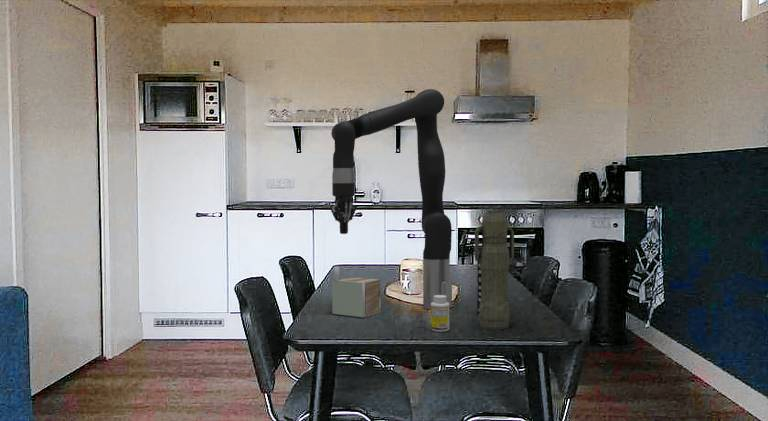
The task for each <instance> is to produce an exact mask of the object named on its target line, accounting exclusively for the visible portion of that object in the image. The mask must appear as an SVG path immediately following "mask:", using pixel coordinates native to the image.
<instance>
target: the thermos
mask: <svg viewBox="0 0 768 421" xmlns="http://www.w3.org/2000/svg"><path fill="white" fill-rule="evenodd" d="M483 213H484V214H483V216H482V219H481V225H480V226H477V227H476V229H475V230H474V260H475V261H476V262H477V261H479V262H480V269H481V301H480V317H479V321H480V322H479V327H481V328H483V329H488V330H504V329H508V328H509V327H510V326H509V320H510V303H509V300H508V294H509V293H508V292H509V291H508V285H509V284H508V272H509V270H510V263H511V262H512V261H513V260H514V259H515V230H514V229H513V228H512V227H511V226H508V219H507V216H506V212H503V211H502V210H487V211H486V212H483ZM480 231H481V238H482V241H481V246H480ZM508 231H509V247H508V241H507V239H508V238H507V237H508ZM479 246H480V247H479ZM479 254H480V257H479Z"/></svg>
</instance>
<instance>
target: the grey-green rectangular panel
mask: <svg viewBox="0 0 768 421" xmlns="http://www.w3.org/2000/svg"><path fill="white" fill-rule="evenodd" d="M331 281H332V282H331V285H332V286H331V287H332V288H331V289H332V291H331V292H332V294H331V295H332V314H333V315H339V316H349V317H356V318H364V317H365V283H364V282H353V281H342V280H341V279H340V266H339V265H337V266H333V279H332V280H331ZM365 318H366V317H365Z"/></svg>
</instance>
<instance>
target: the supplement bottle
mask: <svg viewBox="0 0 768 421" xmlns="http://www.w3.org/2000/svg"><path fill="white" fill-rule="evenodd" d="M433 301H434V302H432V303H431V309H430V328H431V330H432V331H433V332H436V333H437V332H438V333H446V332H449V330H450V329H451V328H450V326H451V325H450V323H451V322H450V320H451V319H450V318H451V315H450V312H451V311H450V305H449V303H448V302H447V296H445V295H435V296H433Z"/></svg>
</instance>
